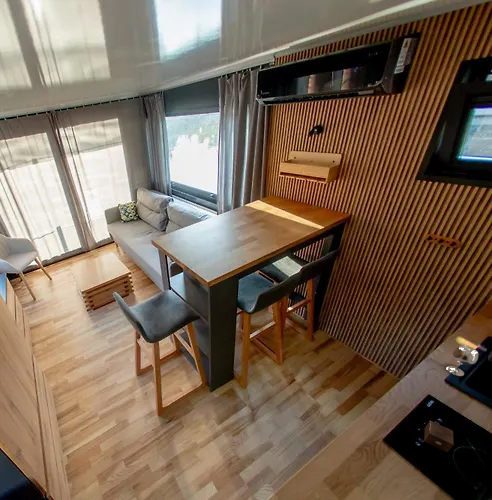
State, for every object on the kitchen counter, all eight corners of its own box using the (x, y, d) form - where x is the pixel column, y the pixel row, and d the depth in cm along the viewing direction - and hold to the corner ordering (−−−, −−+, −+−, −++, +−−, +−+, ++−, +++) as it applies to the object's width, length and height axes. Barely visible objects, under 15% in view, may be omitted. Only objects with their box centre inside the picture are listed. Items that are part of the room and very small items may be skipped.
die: (453, 430, 80) (453, 444, 77) (446, 439, 82) (447, 453, 79) (430, 420, 83) (429, 433, 80) (424, 428, 86) (424, 441, 83)
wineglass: (444, 371, 100) (456, 351, 95) (444, 362, 104) (456, 341, 98) (466, 380, 96) (481, 359, 91) (466, 369, 100) (480, 349, 94)
